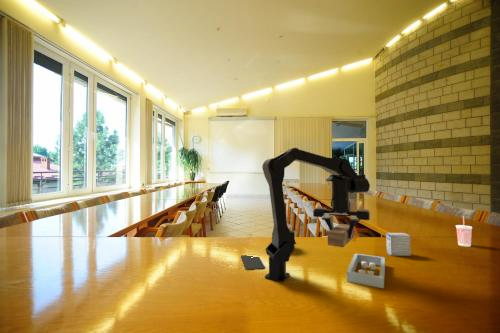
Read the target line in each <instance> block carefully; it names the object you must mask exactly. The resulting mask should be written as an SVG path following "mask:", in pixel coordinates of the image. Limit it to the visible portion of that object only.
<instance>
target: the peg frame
mask: <svg viewBox="0 0 500 333" xmlns="http://www.w3.org/2000/svg"><path fill="white" fill-rule="evenodd" d="M385 259H386V257H384V256H377V255H370V254H362V253H361V254H360V253H354V254H353V257H352V259H351V261H350V264H349V266H348V268H347V270H346V282H349V283H354V284H358V285H359V284H360V285H365V286H369V287H373V288H379V289H380V288H381V289H384V288H385V271H386V260H385ZM358 264H361V269H358V271H356V268H357V266H358ZM376 266H379V273H378V274H379V275H376V274H375V272H374V271H376ZM368 268H369V270H367V269H368ZM366 270H367V272H366Z"/></svg>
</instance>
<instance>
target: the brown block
mask: <svg viewBox="0 0 500 333" xmlns="http://www.w3.org/2000/svg"><path fill="white" fill-rule="evenodd" d="M349 227H350V224H346V223H345V224H344V223H339V224H338V225H336V226H335V227H334V228H333V229H331V230H330V229H329V230H327V246H331V247H332V246H333V247H338V248H344V247H345V246H346V245H348V243H350V241H352V240H353V239H354V238H355V228H354V229H353V232H352V235H351V238H350V239H349Z"/></svg>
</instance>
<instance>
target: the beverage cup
mask: <svg viewBox="0 0 500 333" xmlns="http://www.w3.org/2000/svg"><path fill="white" fill-rule="evenodd" d="M455 228H456V236H457V237H456V238H457V244H458V246H461V247H466V248H467V247H471V246H472V229H473V226H471V225H465V215H462V224H456V225H455Z"/></svg>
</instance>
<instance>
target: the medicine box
mask: <svg viewBox="0 0 500 333" xmlns="http://www.w3.org/2000/svg"><path fill="white" fill-rule="evenodd" d="M385 243H386V253H387V254H388V255H389V256H393V257H394V256H395V257H397V256H398V257H400V256H401V257H411V255H412V253H411V252H412V251H411V247H412V246H411V235H409V234H407V233H405V232H386V240H385Z"/></svg>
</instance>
